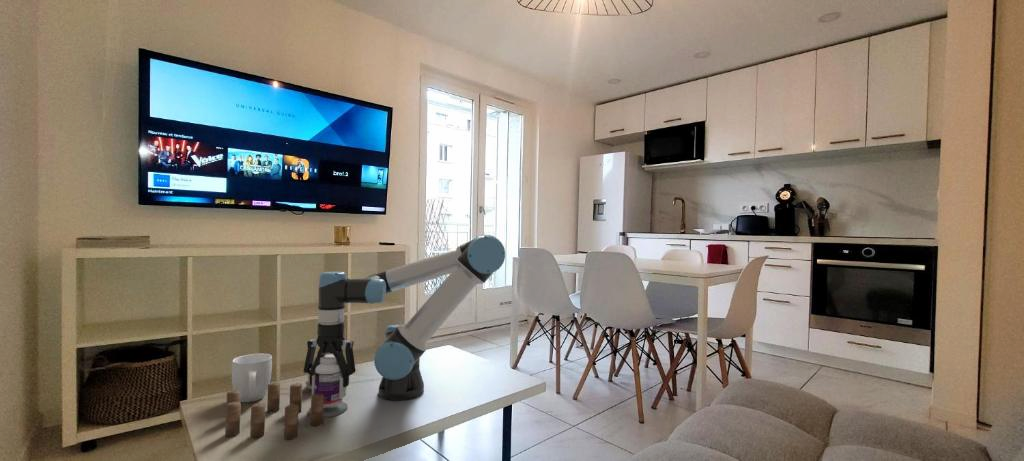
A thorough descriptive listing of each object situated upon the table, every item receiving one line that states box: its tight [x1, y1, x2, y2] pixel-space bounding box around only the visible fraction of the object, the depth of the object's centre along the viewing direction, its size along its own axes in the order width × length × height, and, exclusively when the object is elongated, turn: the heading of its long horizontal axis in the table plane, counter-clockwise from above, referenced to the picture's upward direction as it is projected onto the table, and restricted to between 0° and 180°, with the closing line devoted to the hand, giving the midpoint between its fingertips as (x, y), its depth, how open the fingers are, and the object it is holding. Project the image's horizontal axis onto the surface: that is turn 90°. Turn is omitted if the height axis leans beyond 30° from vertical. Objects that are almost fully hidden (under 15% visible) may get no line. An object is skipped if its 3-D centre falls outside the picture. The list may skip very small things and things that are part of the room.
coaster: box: [307, 401, 349, 419], centre depth 125 cm, size 11×11×1 cm
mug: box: [231, 352, 273, 403], centre depth 130 cm, size 15×11×13 cm
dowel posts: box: [224, 381, 324, 441], centre depth 115 cm, size 28×18×8 cm, turn 86°
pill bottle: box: [315, 353, 344, 408], centre depth 125 cm, size 8×8×14 cm
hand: (328, 396), depth 125 cm, fingers closed on pill bottle, 8 cm apart
